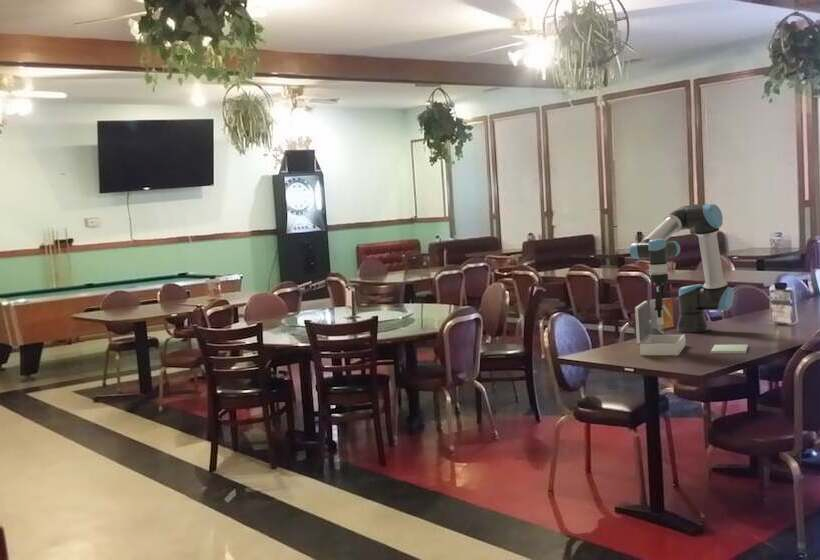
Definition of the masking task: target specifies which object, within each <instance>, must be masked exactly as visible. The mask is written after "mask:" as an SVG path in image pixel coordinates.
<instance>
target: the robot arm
mask: <svg viewBox="0 0 820 560" xmlns="http://www.w3.org/2000/svg"><path fill="white" fill-rule="evenodd" d="M723 221H724V220H723V214H722V210H721V209H720V207H719V206H718V205H717V204H714V203H713V204H712V203H711V204H710V203H704V204H702V203H701V204H692V205H685V206H684V205H682V206H681V207H679V208H677V209H675V210H673V211H672V212H670V213H669V214H667V215H666V216H665V217H664V218H663V221H662V223H660V224H659V225H658V226H656V228H655V229H654V230H653V231H651V233H649V234H648V235H647V236H646V237H645V238H644V239H642V241H640V242H633V243H631V245H630V246H629V254H630V256H631V258H632V259H635V260H637V259H638V260H642V259H643V260H644V259H645V260H647V259H648V260H649V266H648V269H649V270H650V282H651V284H652V283H653V284H655V287H654V299H655V308H654V310H656V314H657V325H664V321H663V310H662V298H667V294H666V284H665V283H668V282H669V274H668V270H669V269H668V259H672V258H675V257H677V256H679V254H680V253H681V245H680V244H679V243H678V242H677V241H675V240H669V239H670V238H671V237H672V236H673V235H674V234H677V233H679V232H680V231H684V230H693V233H694V235H695V236H697V237H698V238H697V239H698V243H699V251H700V256H701V257H700V258H701V261H702V262H701V263H702V269H703V275H704V283H703V284H702V283H699V284H692V285H686V286H682V287H680V288H679V289H678V303H679V319H678V322H677V324H676V325H677V327H676V331H677V332H678V333H679V332H680V333H703V332H708V331H709V324H708V322H707V319H706V317H705V311H713V312H714V311H716V312H717V311H718V312H722V311H728V310H730V309H731V307H732V306H733V303H734V300H735V299H734V298H735V291H734V289H733V287H731V286H729V284H728V282H727V281H726V280H725V279H724V273H723V272H724V271H723V268H722V261H721V256H720V255H721V253H720V248H719V246H720V245H719V241H718V233H719V231H720V228H721V227H722V226H723Z"/></svg>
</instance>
